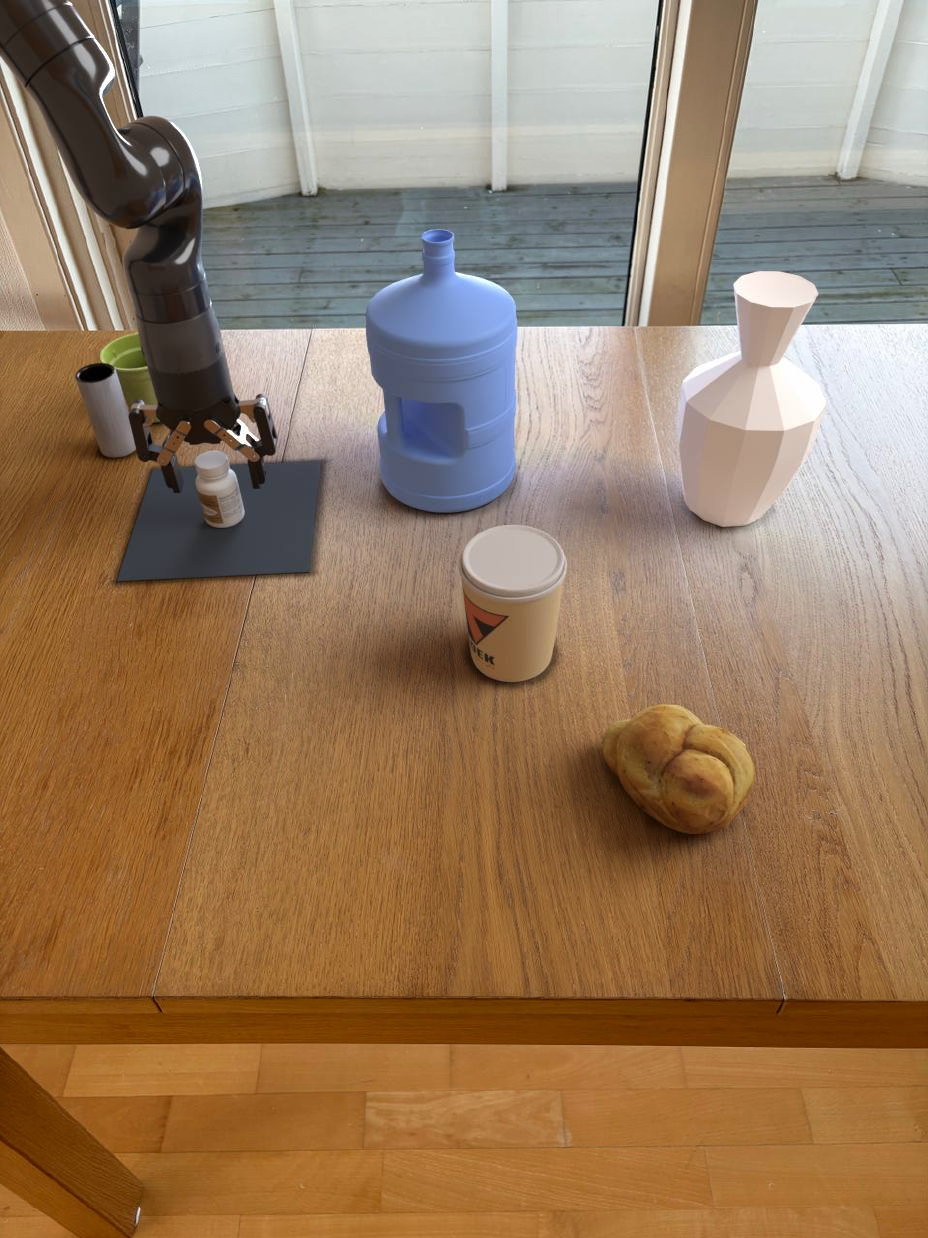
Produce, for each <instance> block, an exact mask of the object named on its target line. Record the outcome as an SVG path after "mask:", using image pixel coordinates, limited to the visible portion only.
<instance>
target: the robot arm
mask: <svg viewBox="0 0 928 1238" xmlns="http://www.w3.org/2000/svg"><path fill="white" fill-rule="evenodd" d="M0 58H1V59H2V61H3V62H4V63H5V65H6V66H7V67H8V69H9V70H10V71H11V73H12V74H13V75H14V77H15V78H16V79H17V81H18V82H19V83H20V85H21V86H22V88H23V89H24V90H25V91H26V93H27V94H28V95H29V97H30V98H31V99H32V101H34V103H35V104H36V106H37V107H38V109H39V111H40V114H41V116H42V118H43V121H44V123H45V125H46V128H47V130H48V133H49V134H50V136H51V139H52V140H53V143H54V144H55V147H56V150H57V152H58V154H59V156H60V158H61V160H62V163H63V165H64V167H65V169H66V172H67V174H68V175H69V177H70V180H71V182H72V183H73V186H74V187H75V190H76V192H77V193H78V194H79V195H80V197H81V199H82V200H83V201H84V202H85V204H86V205H87V207H88V208H89V209H91V210H92V212H94V213H95V214H96V215H97V216H98V217H99V218H101V219H102V220H103V221H105V222H106V223H108V224H110V225H112V226H113V227H115V228H116V227H117V228H119V229H123V230H135V229H137V230H136V233H135V235H134V237H133V238H132V240H131V241H130V243H129V244H128V246H127V247H126V249H125V250H124V252H123V254H122V269H123V274H124V280H125V284H126V286H127V290H128V294H129V297H130V301H131V304H132V307H133V311H134V315H135V320H136V328H137V333H138V335H139V339H140V343H141V351H142V354H143V356H144V357H145V360H146V364H147V367H148V371H149V374H150V378H151V381H152V385H153V389H154V392H155V396H156V399H157V402H158V405H145V403H144V402H143V401H142V400H135V401H134V402H133V405H132V407H131V410H130V409H129V415H128V418H129V422H130V426H131V430H132V434H133V438H134V443H135V447H136V450H135V451H136V454H137V455H136V456H137V459H138V460H139V461H140V462H143V463H148V462H149V461H151V462H155V463H157V464H158V465H159V466H160V469H161V470H162V473H163V476H164V480H165V483H166V485H167V487H168V488H172V489H173V492H174V493H181V492H182V488H183V484H184V482H183V477H182V474H181V470H180V468H181V467H180V462H179V460H178V456H177V454H176V453H177V451H178V450H179V448H180V447H181V445H182V444H183V442H185V443H188V444H189V445H190V446H198V445H202V444H209V445H218V444H219V445H220V444H221V442H224V444H226V445H227V446H228V447H229V448H230V449H232V450H233V451H237V452H239V453H240V454H241V455H243V456H244V457H245V458H246V459H247V464H248V467H249V472H250V476H251V481H252V485H253V489H260V488H261V484H264V482H265V478H266V473H267V472H266V467H265V464H266V463H265V458H264V457H266V456H267V457H274V455H276V452H277V448H278V447H277V446H278V440H279V438H278V434H277V430H276V427H275V423H274V418H273V414H272V410H271V407H270V404H269V400H268V397H267V395H266V394H264V393H258V394H256V395H255V399H245V400H240V399H239V398H238V397H237V395H236V393H235V391H234V386H233V383H232V378H231V377H232V376H231V374H230V369H229V365H228V359H227V354H226V349H225V346H224V341H223V336H222V333H221V332H222V331H221V327H220V324H219V320H218V317H217V315H216V311H215V308H214V307H213V303H212V300H211V295H210V290H209V285H208V279H207V276H206V271H205V269H204V264H203V261H202V245H203V244H202V243H203V209H204V208H203V207H204V206H203V204H204V203H203V199H204V198H203V182H202V181H203V180H202V173H201V169H200V165H199V161H198V158H197V156H196V153H195V150H194V149H193V147H192V145H191V143H190V140H188V138H187V137H186V135H185V134H184V132H183V131H182V130H181V129H180V128H179V127H178V126H177V125H176V124H175V123H173V122H172V121H170V120H169V119H166V118H165V117H161V116H157V115H146V116H142V117H139V118H136V119H134V120H132V121H130V122H128V123H126V124H124V125H123V126H121V127H119V128H117V129H116V127H115V125H114V124H113V121H112V120H111V117H110V115H109V113H108V110H107V107H106V105H105V102H104V100H103V99H104V98H105V97H106V96H107V95H108V94H109V93H110V91H111V89H112V88H113V87H114V84H115V81H116V71H115V67H114V65H113V62H112V61H111V60H110V57H109V55H108V53H106V51H105V49H104V48H103V46H102V45H101V44H100V42H99V40H97V39H96V36H95V35H94V34H93V32H92V31H91V29H90V28H89V27H88V25H87V23H86V22H85V21H84V19H83V18H82V17H81V15H80V14H79V12H78V10H77V9H76V8H75V7H74V6H73V3H72V2H71V1H70V0H0ZM241 414H243V415H246V416H247V417H248V419H249V420H250V422H251V423H253V424H255V425H256V428H257V432H258V435H259V438H260V439H258V438H257V437H256V436H255V435H254V434H252V432H251V431H250V430H249V428H248V427H247V425H246V424H245V423H244V422H243V421H241V420H240V416H241ZM155 417H157V418H158V420H159V421H160V422H159V423H161V424H162V425H164V426H165V427H166V428H167V429H168V430H169V431H168V433H167V435H166V436H165V438H164V441H163V442H162V444H159V443H154V441H155V440H154V437H153V433H152V429H151V427H152V425H153V423H152V422H153V419H154V418H155Z"/></svg>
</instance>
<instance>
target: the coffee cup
mask: <svg viewBox="0 0 928 1238" xmlns="http://www.w3.org/2000/svg"><path fill="white" fill-rule="evenodd" d="M458 570H459V575H460V578H461V587H462V595H463V604H464V613H465V619H466V627H467V635H468V642H469V649H470V656H471V659H472V661H473V663H474V666H475V667H476V668H477V669H478V671H480V672H481V673H482V674H483V675H485V676H486V677H488V678H491V679H492V680H496V681H499V682H505V683H519V682H520V683H521V682H525V681H528V680H531V679H533V678H536V677H537V676H539V675H540V674H541V673H543V672H544V671H545V670H546V669H547V668H548V666H549V664H550V663H551V660H552V657H553V652H554V647H555V643H556V642H555V641H556V635H557V630H558V629H557V628H558V621H559V615H560V611H561V610H560V609H561V602H562V596H563V589H564V581H565V577H566V575H567V570H568V562H567V557H566V555H565V552H564V550H563V548H562V547H561V545H560V543H558V541H557V540H556V539H555V538H554V537H553V536H552V535H550V534H548V533H547V532H545V531H543V530H541V529H538V528H536V527H533V526H527V525H522V524H502V525H497V526H493V527H490V528H487V529H485V530H482V531H480V532H478V533H477V534H475V535H474V536H473V537H472V538H470V540H469V541H468V542H467V543H466V544H465V545H464V548H463V549H462V550H461V553H460V555H459V560H458Z"/></svg>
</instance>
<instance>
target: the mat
mask: <svg viewBox="0 0 928 1238" xmlns="http://www.w3.org/2000/svg"><path fill="white" fill-rule="evenodd" d="M229 467H230V469H231V470H233V471H234V473H235V474H236V477H237V481H238V485H239V490H240V494H241V498H242V502H243V507H244V512H245V514H244V517H243V519H242V520H241V521H240V522H239V523H237V524H235V525H233V526H231V527H227V528H217V527H213V526H211V525H209V524H208V523H207V522H206V520H205V517H204V514H203V510H202V506H201V502H200V499H199V495H198V492H197V488H196V483H195V482H196V478H197V476H198V474H197V470H196V466H187V467H186V466H185V467H180V470H181V474H182V477H183V482H184V484H183V488H182V492H181V493H174V492H173V489H172V488H168V487H167V485H166V483H165V480H164V476H163V473H162V470H161V468H152V470H151V474H150V477H149V480H148V483H147V486H146V489H145V493H144V495H143V499H142V501H141V505H140V507H139V510H138V514H137V517H136V519H135V524H134V526H133V530H132V533H131V536H130V539H129V542H128V545H127V548H126V551H125V554H124V557H123V561H122V564H121V566H120V569H119V572H118V573H119V574H118V576H117V579H116V582H117V583H121V582H122V583H123V582H142V581H144V582H145V581H161V580H163V581H164V580H183V579H201V578H202V579H203V578H222V577H223V578H224V577H245V576H259V575H260V576H263V575H266V576H267V575H281V574H282V575H284V574H285V575H287V574H303V573H304V574H305V573H310V572H311V565H312V555H313V554H312V553H313V545H314V536H315V524H316V516H317V509H318V508H317V506H318V497H319V489H320V479H321V469H322V460H313V461H293V462H271V463H270V462H269V463H265V467H266V472H267V473H266V478H265V482H264V484H261V488H260V489H253V485H252V481H251V476H250V472H249V467H248V463H247V464H229Z"/></svg>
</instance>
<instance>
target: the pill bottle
mask: <svg viewBox="0 0 928 1238" xmlns="http://www.w3.org/2000/svg"><path fill="white" fill-rule="evenodd" d="M229 465H230V462H229V459H228V455H227V454H226V453H225V452H223V451H221V450H215V449H214V450H207V451H204V452H202V453H199V455H197V456H196V458H195V459H194V467H196V470H197V474H198V476H197V478H196V482H195V483H196V488H197V492H198V495H199V499H200V502H201V506H202V510H203V514H204V517H205V520H206V522H207V523H208V524H209V525H211V526H213V527H217V528H227V527H231V526H233V525H235V524H237V523H239V522H240V521H241V520H242V519H243V517H244V514H245V512H244V507H243V502H242V498H241V494H240V490H239V485H238V481H237V477H236V474H235V473H234V471H233V470H231V469H230V467H229Z"/></svg>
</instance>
